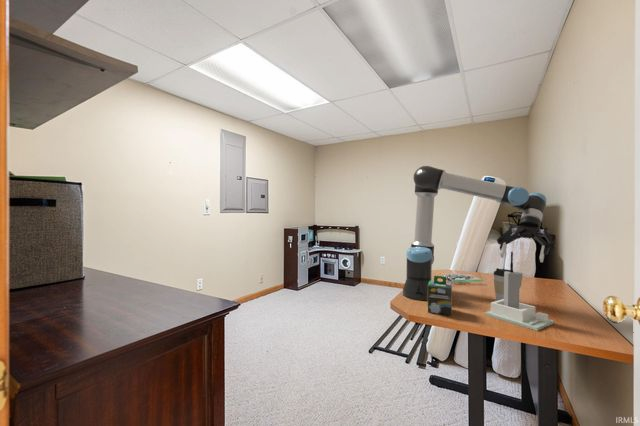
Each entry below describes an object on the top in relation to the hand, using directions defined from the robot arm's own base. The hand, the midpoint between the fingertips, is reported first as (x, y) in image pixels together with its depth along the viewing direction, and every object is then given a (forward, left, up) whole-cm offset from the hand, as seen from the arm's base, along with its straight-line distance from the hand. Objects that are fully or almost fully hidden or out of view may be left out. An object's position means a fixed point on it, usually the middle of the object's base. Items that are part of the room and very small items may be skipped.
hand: (520, 257), depth 117 cm
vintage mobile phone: (+1, -8, -22) cm, 23 cm away
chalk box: (-18, -27, -23) cm, 40 cm away
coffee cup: (-11, +11, -23) cm, 28 cm away
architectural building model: (+3, -8, -23) cm, 24 cm away
